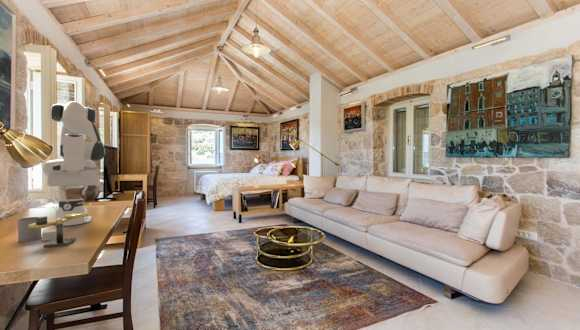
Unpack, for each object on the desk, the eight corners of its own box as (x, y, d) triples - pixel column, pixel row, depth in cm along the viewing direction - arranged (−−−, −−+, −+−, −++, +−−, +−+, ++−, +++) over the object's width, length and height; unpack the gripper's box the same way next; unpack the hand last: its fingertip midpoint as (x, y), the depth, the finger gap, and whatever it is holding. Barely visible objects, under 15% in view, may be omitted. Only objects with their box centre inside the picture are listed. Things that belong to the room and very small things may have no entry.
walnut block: (70, 198, 136) (70, 188, 136) (82, 197, 138) (82, 187, 138) (66, 199, 132) (66, 188, 132) (78, 199, 134) (78, 188, 133)
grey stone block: (43, 238, 139) (43, 230, 138) (56, 237, 142) (56, 229, 141) (42, 241, 135) (42, 233, 134) (55, 239, 138) (55, 231, 137)
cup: (27, 241, 133) (26, 221, 133) (13, 240, 134) (13, 220, 134) (45, 236, 141) (45, 217, 141) (32, 235, 143) (32, 216, 142)
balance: (34, 243, 131) (34, 214, 130) (91, 238, 139) (91, 212, 138) (24, 249, 122) (23, 218, 122) (85, 244, 130) (84, 215, 130)
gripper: (101, 166, 141) (101, 193, 142) (51, 166, 134) (52, 195, 134) (97, 166, 136) (97, 195, 136) (45, 167, 128) (45, 196, 129)
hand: (74, 195), depth 135 cm, fingers closed on walnut block, 5 cm apart
